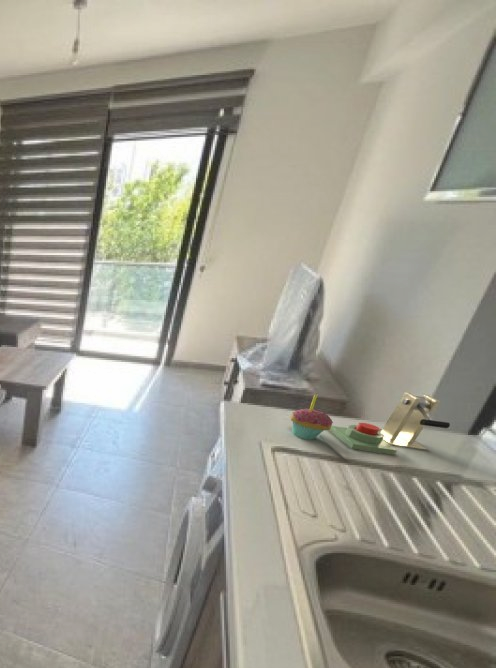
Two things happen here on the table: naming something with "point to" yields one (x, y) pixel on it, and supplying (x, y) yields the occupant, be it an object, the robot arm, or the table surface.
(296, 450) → the table surface
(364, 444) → the button box
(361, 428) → the button
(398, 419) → the bracket
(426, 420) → the lever
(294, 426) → the cupcake
